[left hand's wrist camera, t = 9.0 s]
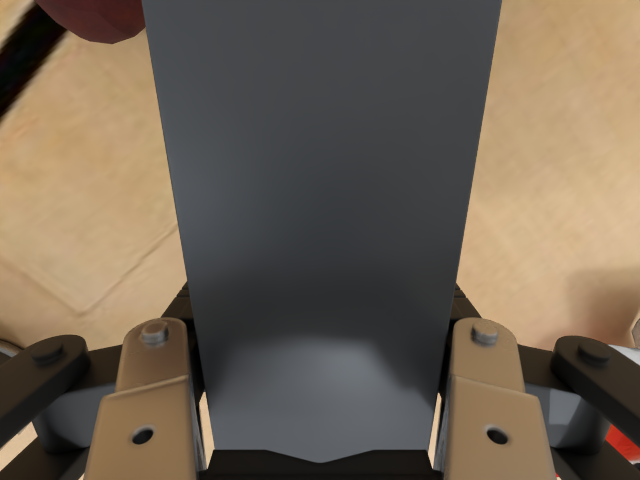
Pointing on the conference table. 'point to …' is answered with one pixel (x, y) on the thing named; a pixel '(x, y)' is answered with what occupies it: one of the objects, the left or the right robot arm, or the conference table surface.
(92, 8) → the potato
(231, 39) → the bar
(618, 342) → the conference table surface
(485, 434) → the left robot arm
